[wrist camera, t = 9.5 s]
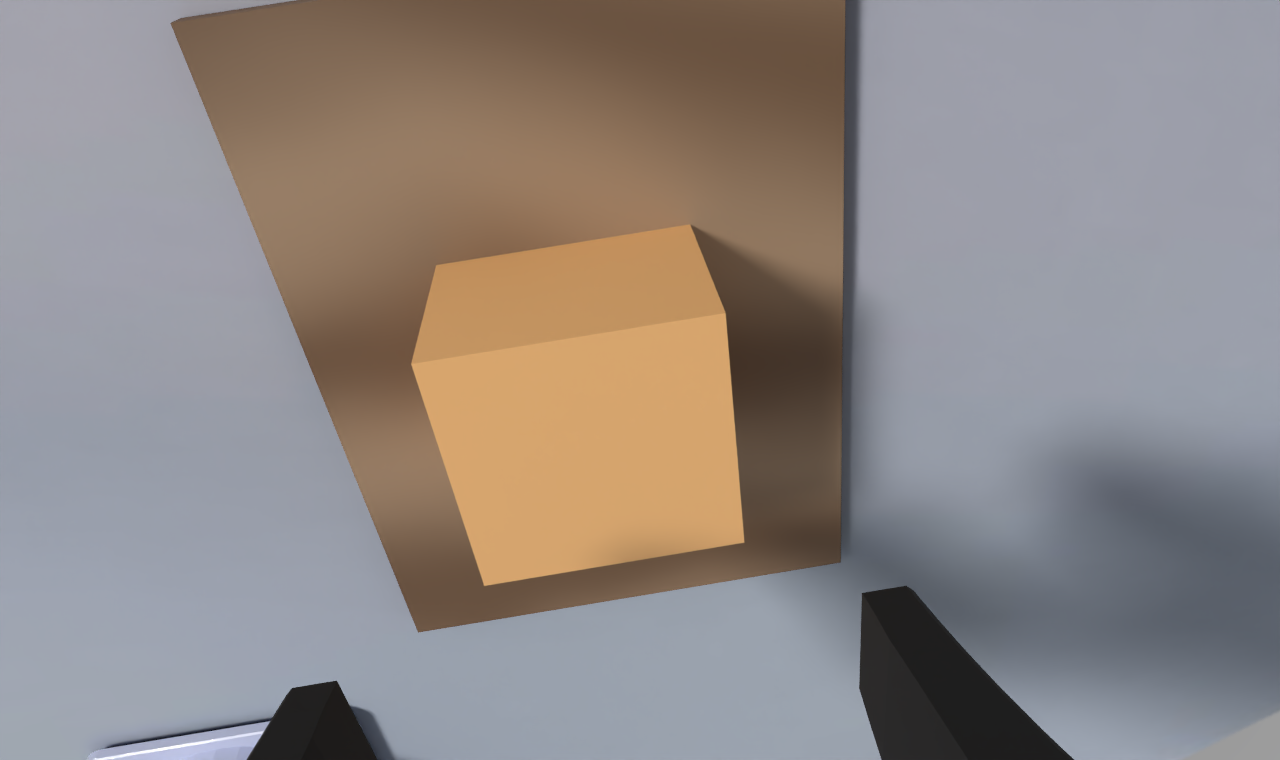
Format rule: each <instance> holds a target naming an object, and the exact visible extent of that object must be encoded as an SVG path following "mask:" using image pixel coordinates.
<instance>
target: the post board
mask: <svg viewBox="0 0 1280 760" xmlns="http://www.w3.org/2000/svg"><path fill="white" fill-rule="evenodd" d="M171 25H172V28H173V30H174V33H175V35H176V38H177V40H178V43H179V45H180V48H181V50H182V53H183V55H184V57H185V60H186V62H187V65H188V67H189V70H190V72H191V75H192V77H193V80H194V82H195V84H196V87H197V89H198V92H199V94H200V97H201V99H202V102H203V104H204V107H205V109H206V112H207V114H208V116H209V119H210V121H211V124H212V126H213V129H214V131H215V134H216V136H217V139H218V141H219V144H220V146H221V148H222V151H223V153H224V156H225V158H226V161H227V163H228V166H229V168H230V171H231V173H232V175H233V178H234V180H235V183H236V185H237V188H238V190H239V193H240V195H241V198H242V200H243V203H244V205H245V207H246V210H247V212H248V215H249V217H250V220H251V222H252V225H253V227H254V230H255V232H256V235H257V237H258V239H259V242H260V244H261V247H262V249H263V252H264V254H265V257H266V259H267V262H268V264H269V267H270V269H271V271H272V274H273V276H274V279H275V281H276V284H277V286H278V289H279V291H280V294H281V296H282V298H283V301H284V303H285V306H286V308H287V311H288V313H289V316H290V318H291V321H292V323H293V326H294V328H295V330H296V333H297V335H298V338H299V340H300V343H301V345H302V348H303V350H304V353H305V355H306V358H307V360H308V362H309V365H310V367H311V370H312V372H313V375H314V377H315V380H316V382H317V385H318V387H319V389H320V392H321V394H322V397H323V399H324V402H325V404H326V407H327V409H328V412H329V414H330V417H331V419H332V421H333V424H334V426H335V429H336V431H337V434H338V436H339V439H340V441H341V444H342V446H343V449H344V451H345V453H346V456H347V458H348V461H349V463H350V466H351V468H352V471H353V473H354V476H355V478H356V481H357V483H358V485H359V488H360V490H361V493H362V495H363V498H364V500H365V503H366V505H367V508H368V510H369V512H370V515H371V517H372V520H373V522H374V525H375V527H376V530H377V532H378V535H379V537H380V540H381V542H382V544H383V547H384V549H385V552H386V554H387V557H388V559H389V562H390V564H391V567H392V569H393V572H394V574H395V576H396V579H397V581H398V584H399V586H400V589H401V591H402V594H403V596H404V599H405V601H406V603H407V606H408V608H409V611H410V613H411V616H412V618H413V621H414V623H415V626H416V628H417V631H418V632H423V631H429V630H435V629H441V628H447V627H453V626H460V625H466V624H472V623H478V622H484V621H490V620H496V619H502V618H508V617H514V616H520V615H526V614H532V613H538V612H544V611H550V610H556V609H562V608H568V607H574V606H580V605H586V604H592V603H598V602H604V601H610V600H616V599H622V598H628V597H635V596H641V595H647V594H653V593H659V592H665V591H671V590H677V589H683V588H689V587H695V586H701V585H707V584H713V583H719V582H725V581H731V580H737V579H743V578H749V577H755V576H761V575H767V574H773V573H779V572H785V571H791V570H797V569H804V568H810V567H816V566H822V565H828V564H834V563H840V562H841V450H842V332H843V213H844V95H845V0H297V1H290V2H284V3H277V4H271V5H264V6H258V7H251V8H244V9H238V10H231V11H225V12H218V13H212V14H205V15H199V16H192V17H186V18H180V19H178V20H176V21H174V22H172V23H171ZM683 225H691V228H692V230H693V233H694V235H695V238H696V240H697V243H698V245H699V248H700V250H701V253H702V255H703V258H704V260H705V263H706V265H707V268H708V270H709V273H710V275H711V278H712V280H713V283H714V285H715V288H716V290H717V293H718V295H719V298H720V300H721V303H722V305H723V308H724V310H725V313H726V324H727V336H728V348H729V360H730V373H731V385H732V397H733V409H734V422H735V434H736V446H737V458H738V470H739V483H740V495H741V507H742V519H743V532H744V543H739V544H733V545H727V546H721V547H715V548H709V549H703V550H697V551H691V552H685V553H679V554H673V555H667V556H661V557H655V558H649V559H643V560H637V561H631V562H625V563H619V564H613V565H607V566H601V567H595V568H589V569H583V570H577V571H571V572H565V573H559V574H553V575H547V576H541V577H535V578H529V579H523V580H517V581H511V582H505V583H499V584H493V585H487V586H484V583H483V580H482V577H481V574H480V571H479V568H478V565H477V562H476V559H475V556H474V553H473V550H472V547H471V544H470V541H469V538H468V535H467V532H466V529H465V526H464V523H463V520H462V517H461V514H460V511H459V508H458V505H457V502H456V499H455V496H454V492H453V489H452V486H451V483H450V480H449V477H448V474H447V471H446V468H445V465H444V462H443V459H442V456H441V453H440V450H439V447H438V444H437V441H436V438H435V435H434V432H433V429H432V426H431V423H430V420H429V417H428V414H427V411H426V408H425V405H424V402H423V399H422V396H421V392H420V389H419V386H418V383H417V380H416V377H415V374H414V371H413V368H412V365H411V363H412V359H413V355H414V351H415V347H416V343H417V339H418V335H419V331H420V327H421V323H422V319H423V315H424V311H425V308H426V304H427V300H428V296H429V292H430V288H431V284H432V280H433V276H434V272H435V268H436V265H441V264H447V263H453V262H460V261H466V260H472V259H478V258H484V257H491V256H497V255H503V254H509V253H516V252H522V251H528V250H534V249H540V248H547V247H553V246H559V245H565V244H572V243H578V242H584V241H590V240H596V239H603V238H609V237H615V236H621V235H628V234H634V233H640V232H646V231H652V230H659V229H665V228H671V227H677V226H683Z"/></svg>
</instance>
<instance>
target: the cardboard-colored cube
mask: <svg viewBox="0 0 1280 760" xmlns="http://www.w3.org/2000/svg"><path fill="white" fill-rule="evenodd" d="M411 365H412V368H413V371H414V374H415V377H416V380H417V383H418V386H419V389H420V392H421V396H422V399H423V402H424V405H425V408H426V411H427V414H428V417H429V420H430V423H431V426H432V429H433V432H434V435H435V438H436V441H437V444H438V447H439V450H440V453H441V456H442V459H443V462H444V465H445V468H446V471H447V474H448V477H449V480H450V483H451V486H452V489H453V492H454V496H455V499H456V502H457V505H458V508H459V511H460V514H461V517H462V520H463V523H464V526H465V529H466V532H467V535H468V538H469V541H470V544H471V547H472V550H473V553H474V556H475V559H476V562H477V565H478V568H479V571H480V574H481V577H482V580H483V583H484V586H487V585H493V584H499V583H505V582H511V581H517V580H523V579H529V578H535V577H541V576H547V575H553V574H559V573H565V572H571V571H577V570H583V569H589V568H595V567H601V566H607V565H613V564H619V563H625V562H631V561H637V560H643V559H649V558H655V557H661V556H667V555H673V554H679V553H685V552H691V551H697V550H703V549H709V548H715V547H721V546H727V545H733V544H739V543H744V532H743V519H742V507H741V495H740V483H739V470H738V458H737V446H736V434H735V422H734V409H733V397H732V385H731V373H730V360H729V348H728V336H727V324H726V313H725V310H724V308H723V305H722V303H721V300H720V298H719V295H718V293H717V290H716V288H715V285H714V283H713V280H712V278H711V275H710V273H709V270H708V268H707V265H706V263H705V260H704V258H703V255H702V253H701V250H700V248H699V245H698V243H697V240H696V238H695V235H694V233H693V230H692V228H691V225H683V226H677V227H671V228H665V229H659V230H652V231H646V232H640V233H634V234H628V235H621V236H615V237H609V238H603V239H596V240H590V241H584V242H578V243H572V244H565V245H559V246H553V247H547V248H540V249H534V250H528V251H522V252H516V253H509V254H503V255H497V256H491V257H484V258H478V259H472V260H466V261H460V262H453V263H447V264H441V265H436V268H435V272H434V276H433V280H432V284H431V288H430V292H429V296H428V300H427V304H426V308H425V311H424V315H423V319H422V323H421V327H420V331H419V335H418V339H417V343H416V347H415V351H414V355H413V359H412V363H411Z"/></svg>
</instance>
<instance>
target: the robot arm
mask: <svg viewBox="0 0 1280 760" xmlns="http://www.w3.org/2000/svg"><path fill="white" fill-rule="evenodd" d="M859 689H860V692H861V695H862V698H863V702H864V705H865V708H866V711H867V715H868V718H869V721H870V725H871V728H872V731H873V734H874V737H875V740H876V744H877V747H878V750H879V753H880V756H881V759H882V760H1074V759H1073V758H1072V757H1071V756H1069V755H1068V754H1067V753H1066V752H1065V751H1064V750H1063V749H1062V748H1061V747H1060V746H1059V745H1058V744H1057V743H1056V742H1055V741H1054V740H1053V739H1052V738H1050V737H1049V736H1048V735H1047V734H1046V733H1045V732H1044V731H1043V730H1042V729H1041V728H1040V727H1039V726H1038V725H1037V724H1036V723H1035V722H1034V721H1033V720H1032V719H1031V718H1030V717H1029V716H1028V715H1027V714H1026V713H1025V712H1024V711H1023V710H1022V709H1021V708H1020V707H1019V706H1018V705H1017V704H1016V703H1015V702H1014V701H1013V700H1012V699H1011V698H1010V697H1009V696H1008V695H1007V694H1006V693H1005V692H1004V691H1003V690H1002V689H1001V688H1000V687H999V686H998V685H997V684H996V683H995V681H994V680H993V679H992V678H991V677H990V676H989V675H988V674H987V673H986V672H985V671H984V670H983V669H982V668H981V667H980V666H979V665H978V663H977V662H976V661H975V660H974V659H973V658H972V657H971V656H970V655H969V654H968V653H967V652H966V650H965V649H964V648H963V647H962V646H961V645H960V644H959V643H958V642H957V641H956V639H955V638H954V637H953V636H952V635H951V634H950V633H949V632H948V630H947V629H946V628H945V627H944V626H943V625H942V624H941V622H940V621H939V620H938V619H937V618H936V617H935V616H934V614H933V613H932V612H931V611H930V610H929V609H928V607H927V606H926V605H925V604H924V603H923V601H922V600H921V599H920V598H919V597H918V595H917V594H916V593H915V592H914V591H913V590H912V589H910V588H909V587H907V586H902V587H896V588H890V589H884V590H878V591H872V592H866V593H862V616H861V651H860V685H859ZM87 760H377V758H376V757H375V755H374V753H373V751H372V749H371V747H370V745H369V743H368V741H367V739H366V737H365V735H364V733H363V731H362V729H361V727H360V725H359V723H358V721H357V719H356V717H355V715H354V713H353V711H352V710H351V708H350V706H349V704H348V702H347V700H346V698H345V696H344V694H343V692H342V690H341V688H340V686H339V684H338V682H337V681H332V682H326V683H320V684H314V685H308V686H302V687H296V688H292V689H291V690H290V691H289V693H288V694H287V695H286V697H285V698H284V700H283V702H282V703H281V705H280V706H279V708H278V710H277V711H276V713H275V714H274V716H273V718H272V719H271V721H268V722H262V723H256V724H250V725H244V726H238V727H232V728H226V729H220V730H214V731H208V732H202V733H196V734H190V735H184V736H178V737H172V738H166V739H160V740H154V741H148V742H142V743H136V744H130V745H124V746H118V747H112V748H106V749H100V750H97V751H94V752H92V753H91V754H90V755H89V757H88V759H87Z"/></svg>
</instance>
